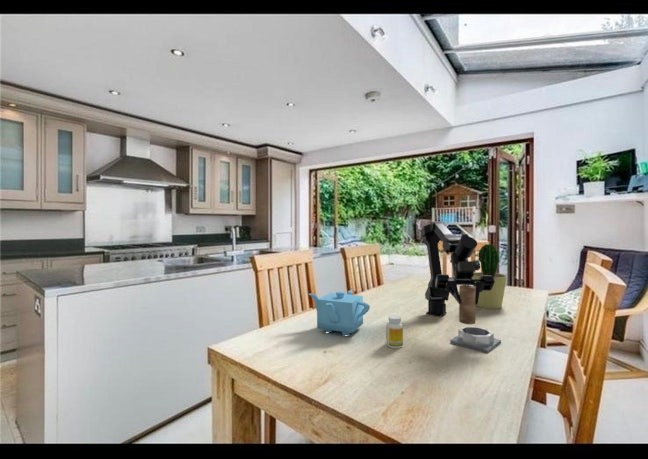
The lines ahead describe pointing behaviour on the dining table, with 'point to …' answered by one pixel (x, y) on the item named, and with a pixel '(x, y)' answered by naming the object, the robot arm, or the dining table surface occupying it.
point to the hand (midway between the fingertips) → (468, 303)
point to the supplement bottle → (394, 332)
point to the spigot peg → (467, 304)
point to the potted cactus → (489, 267)
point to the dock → (481, 348)
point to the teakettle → (340, 311)
